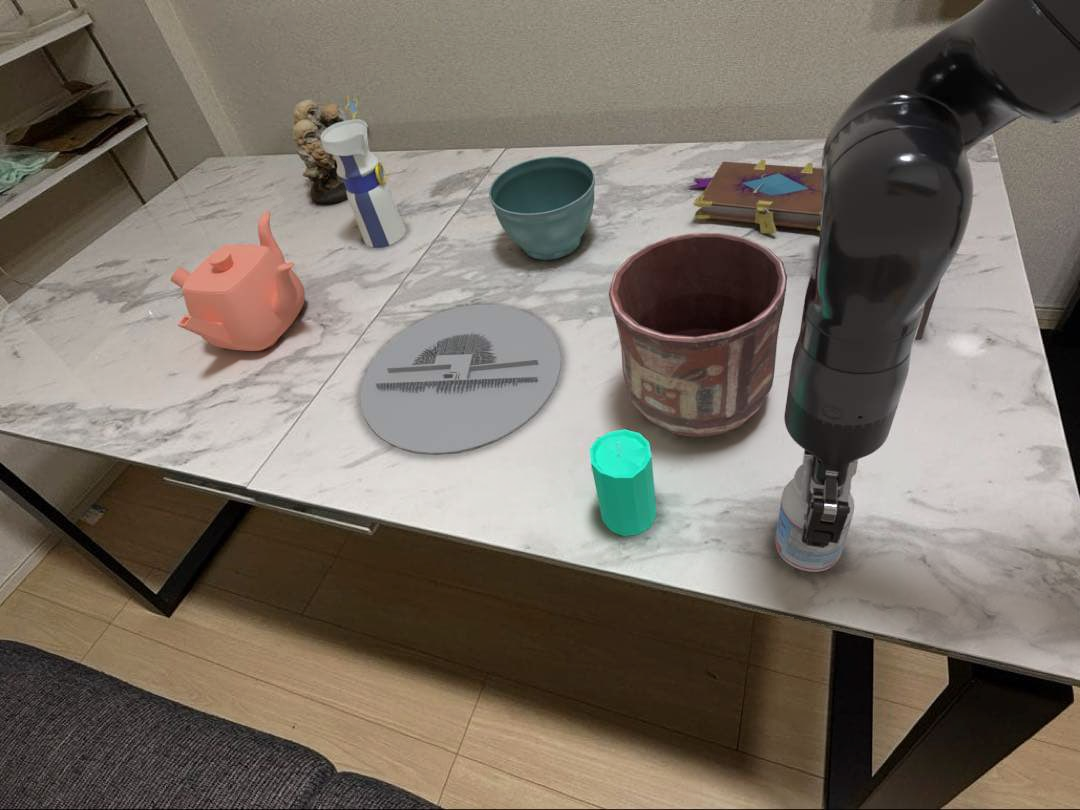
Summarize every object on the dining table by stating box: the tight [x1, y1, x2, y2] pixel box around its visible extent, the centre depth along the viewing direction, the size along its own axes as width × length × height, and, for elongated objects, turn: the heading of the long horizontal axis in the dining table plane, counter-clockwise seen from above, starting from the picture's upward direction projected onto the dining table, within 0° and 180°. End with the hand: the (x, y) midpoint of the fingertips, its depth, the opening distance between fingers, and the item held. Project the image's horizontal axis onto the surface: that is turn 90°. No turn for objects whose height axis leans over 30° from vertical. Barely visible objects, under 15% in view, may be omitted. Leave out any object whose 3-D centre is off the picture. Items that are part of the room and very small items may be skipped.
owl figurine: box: [292, 99, 350, 204], centre depth 129 cm, size 18×12×17 cm, turn 165°
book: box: [687, 159, 822, 234], centre depth 103 cm, size 16×25×5 cm, turn 63°
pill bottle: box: [774, 463, 855, 573], centre depth 61 cm, size 6×6×11 cm
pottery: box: [608, 232, 788, 438], centre depth 74 cm, size 18×18×18 cm
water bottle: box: [321, 95, 407, 249], centre depth 110 cm, size 8×9×25 cm
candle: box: [589, 428, 658, 537], centre depth 67 cm, size 6×6×12 cm
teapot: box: [170, 210, 306, 352], centre depth 102 cm, size 18×18×14 cm
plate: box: [360, 304, 562, 455], centre depth 91 cm, size 28×28×1 cm
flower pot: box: [488, 155, 596, 261], centre depth 104 cm, size 16×16×11 cm
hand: (815, 509), depth 61 cm, fingers closed on pill bottle, 6 cm apart
